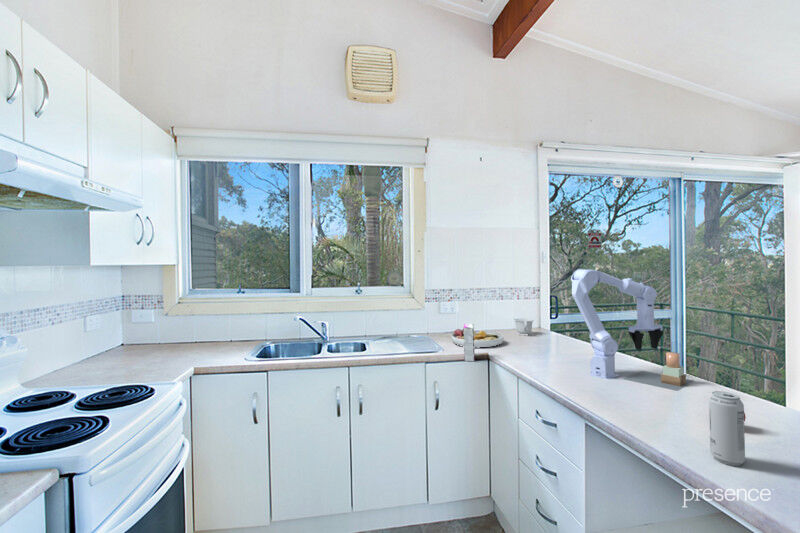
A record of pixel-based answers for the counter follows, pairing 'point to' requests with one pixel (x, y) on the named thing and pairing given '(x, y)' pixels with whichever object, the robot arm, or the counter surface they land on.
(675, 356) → the terracotta cylinder
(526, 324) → the white planter pot
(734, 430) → the energy drink can
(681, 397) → the counter surface
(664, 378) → the walnut base block
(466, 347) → the candy bar box
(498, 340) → the bowl
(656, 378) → the rubber mat
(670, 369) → the sage top block
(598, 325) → the robot arm
